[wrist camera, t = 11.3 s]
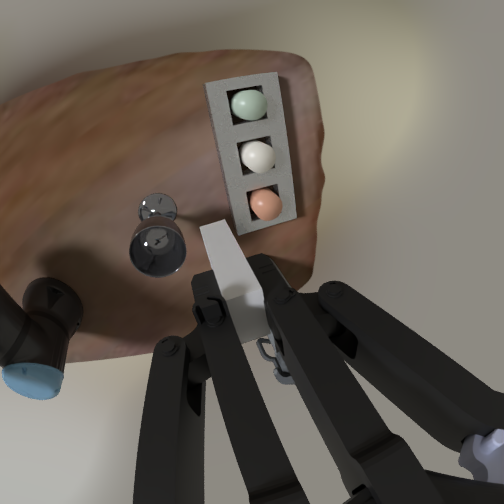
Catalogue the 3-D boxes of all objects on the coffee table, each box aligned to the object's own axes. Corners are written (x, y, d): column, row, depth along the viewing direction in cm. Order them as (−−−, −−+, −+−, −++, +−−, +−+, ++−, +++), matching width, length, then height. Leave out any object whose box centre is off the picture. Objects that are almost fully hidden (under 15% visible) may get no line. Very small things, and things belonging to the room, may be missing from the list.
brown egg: (249, 213, 54) (257, 224, 50) (245, 189, 52) (253, 198, 48) (274, 206, 55) (284, 216, 51) (270, 182, 52) (280, 191, 48)
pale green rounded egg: (231, 121, 44) (239, 123, 40) (226, 93, 42) (233, 92, 38) (259, 115, 45) (269, 117, 41) (254, 88, 43) (264, 87, 38)
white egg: (241, 169, 49) (249, 176, 45) (236, 142, 47) (243, 147, 43) (267, 162, 50) (277, 169, 46) (263, 136, 47) (273, 140, 43)
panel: (234, 228, 56) (238, 235, 53) (202, 84, 40) (205, 83, 38) (290, 212, 58) (296, 218, 55) (270, 73, 42) (277, 71, 40)
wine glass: (178, 189, 48) (186, 224, 36) (179, 230, 52) (187, 275, 40) (134, 192, 46) (125, 228, 34) (138, 233, 50) (133, 279, 38)
